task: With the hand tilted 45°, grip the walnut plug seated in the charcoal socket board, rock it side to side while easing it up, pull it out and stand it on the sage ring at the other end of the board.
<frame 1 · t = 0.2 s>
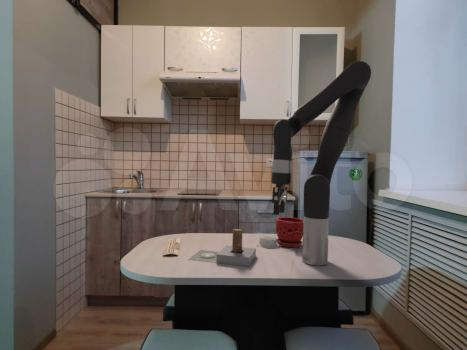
hand: (279, 213, 114), 18 cm above the table, tool pointing down, fingers open, 8 cm apart
walnut plug: (236, 259, 109), point 1 cm above the table, touching socket board
plant pot: (289, 245, 135), on the table
newspaper: (173, 249, 126), on the table
socket board: (222, 260, 111), on the table
mechanical component: (267, 247, 130), on the table
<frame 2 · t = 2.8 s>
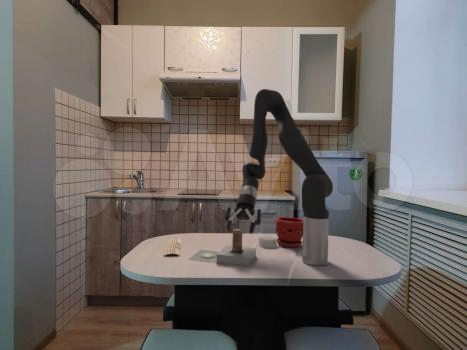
hand: (239, 231, 113), 11 cm above the table, tool tilted 45°, fingers open, 8 cm apart
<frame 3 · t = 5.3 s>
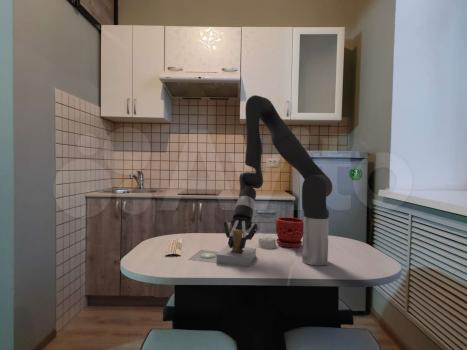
hand: (235, 247, 107), 6 cm above the table, tool tilted 45°, fingers closed on walnut plug, 3 cm apart
walnut plug: (236, 259, 109), point 1 cm above the table, touching gripper, socket board
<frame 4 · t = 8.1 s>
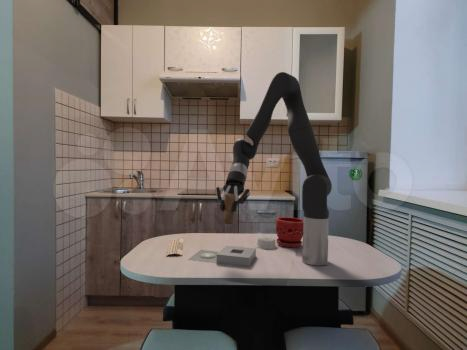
hand: (227, 210, 108), 19 cm above the table, tool tilted 45°, fingers closed on walnut plug, 3 cm apart
walnut plug: (228, 223, 110), point 14 cm above the table, touching gripper
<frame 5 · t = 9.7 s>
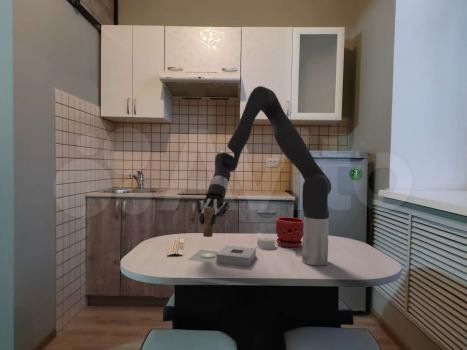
hand: (206, 223, 110), 14 cm above the table, tool tilted 45°, fingers closed on walnut plug, 3 cm apart
walnut plug: (207, 235, 112), point 9 cm above the table, touching gripper
when the fingers open (7 cm above the table, at t = 11.1 s): walnut plug drops 1 cm, resting on socket board.
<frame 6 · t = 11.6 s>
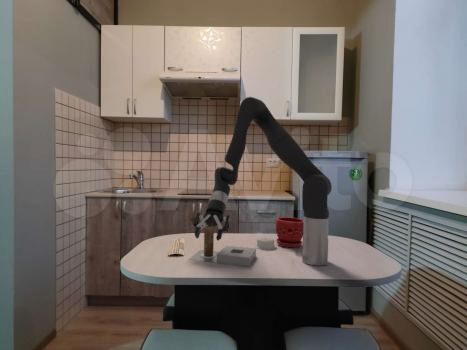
hand: (207, 238, 111), 8 cm above the table, tool tilted 45°, fingers open, 8 cm apart
walnut plug: (208, 255, 113), point 1 cm above the table, touching socket board
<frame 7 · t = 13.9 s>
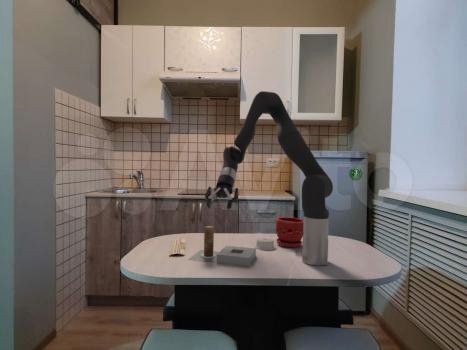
hand: (218, 207, 123), 18 cm above the table, tool tilted 45°, fingers open, 8 cm apart
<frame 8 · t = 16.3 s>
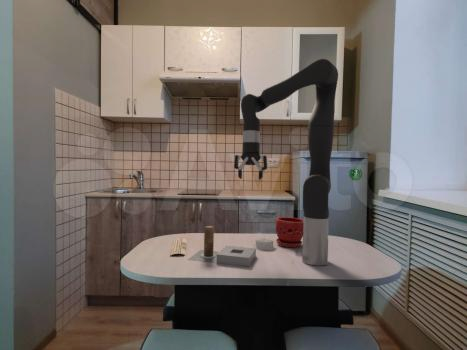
hand: (250, 179, 128), 30 cm above the table, tool pointing down, fingers open, 8 cm apart
at the end: walnut plug 0.2 cm from the target spot on the socket board, point 1.2 cm above the socket board's base; walnut plug tilted 0°; the gripper is holding nothing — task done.
